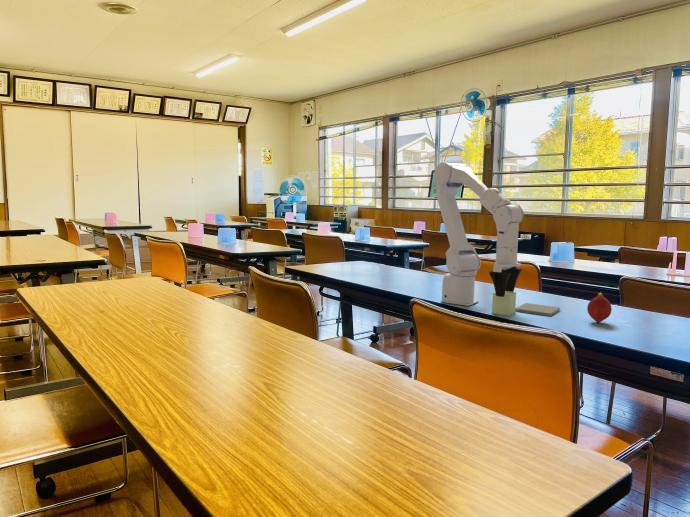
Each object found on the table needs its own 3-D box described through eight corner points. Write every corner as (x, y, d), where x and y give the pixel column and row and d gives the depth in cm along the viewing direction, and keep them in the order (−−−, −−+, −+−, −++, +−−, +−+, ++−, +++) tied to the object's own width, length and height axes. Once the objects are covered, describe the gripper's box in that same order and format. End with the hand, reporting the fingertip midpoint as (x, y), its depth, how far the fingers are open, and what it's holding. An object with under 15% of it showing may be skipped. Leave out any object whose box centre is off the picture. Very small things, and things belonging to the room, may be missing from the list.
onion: (613, 325, 133) (615, 295, 132) (589, 324, 134) (591, 294, 133) (606, 320, 138) (608, 291, 137) (584, 319, 139) (586, 290, 138)
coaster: (515, 311, 148) (515, 308, 148) (525, 305, 156) (525, 302, 156) (550, 316, 142) (550, 313, 142) (559, 310, 150) (560, 307, 150)
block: (491, 313, 146) (492, 292, 145) (498, 310, 150) (499, 290, 149) (509, 315, 143) (510, 294, 142) (515, 312, 147) (516, 292, 146)
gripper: (512, 250, 136) (510, 300, 137) (529, 246, 147) (526, 292, 149) (487, 248, 140) (484, 296, 142) (505, 244, 152) (503, 289, 153)
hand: (504, 294), depth 146 cm, fingers open, 7 cm apart
